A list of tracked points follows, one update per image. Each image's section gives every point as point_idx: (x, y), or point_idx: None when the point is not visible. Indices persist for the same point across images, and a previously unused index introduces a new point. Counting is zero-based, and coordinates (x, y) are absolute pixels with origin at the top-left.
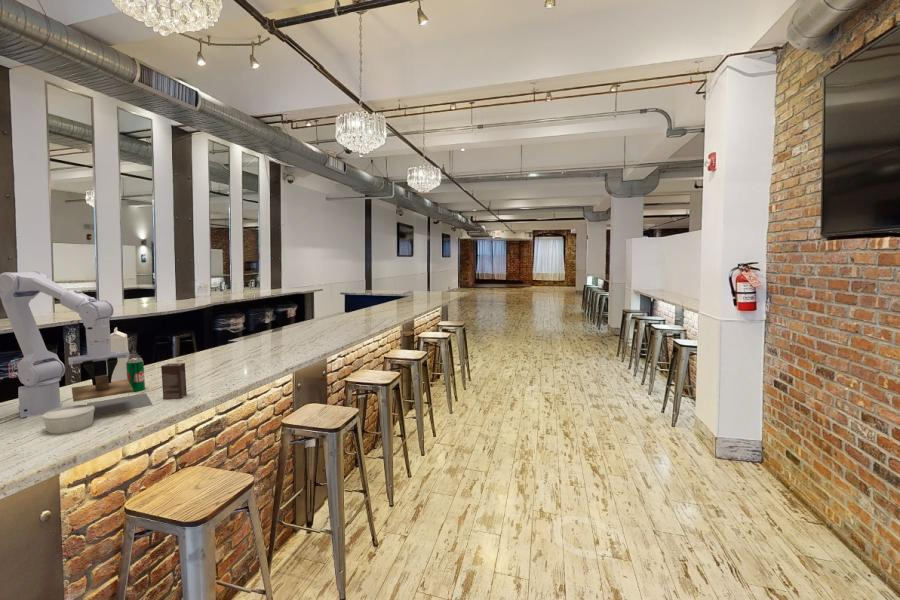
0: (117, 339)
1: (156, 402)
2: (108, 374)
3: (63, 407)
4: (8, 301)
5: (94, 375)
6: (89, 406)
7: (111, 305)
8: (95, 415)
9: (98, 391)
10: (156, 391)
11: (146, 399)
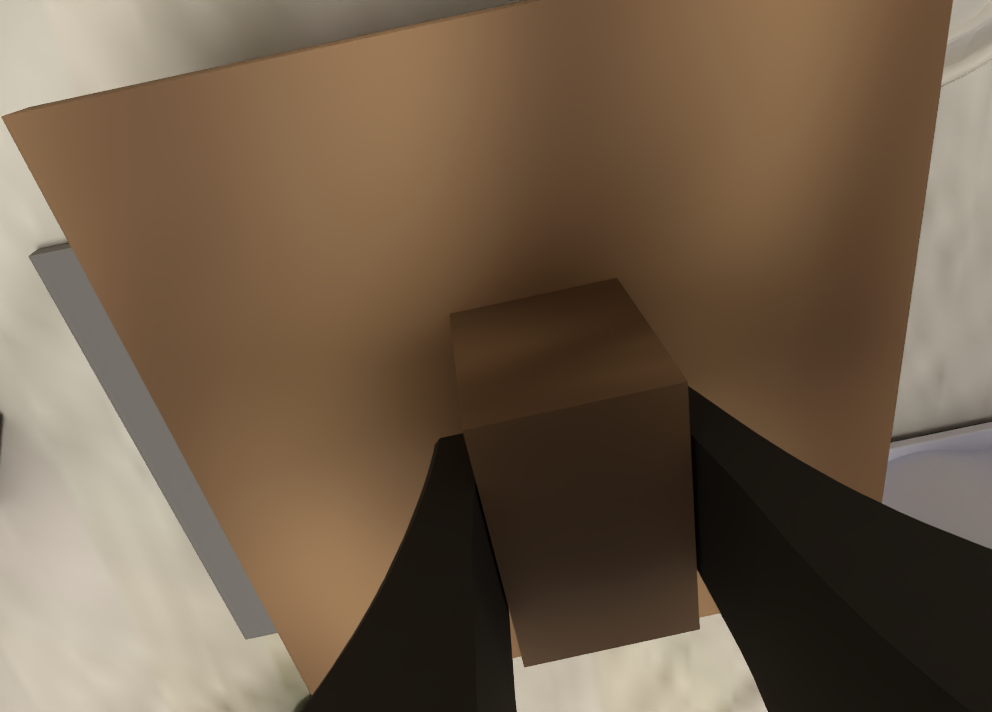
0: None
1: (59, 383)
2: (471, 536)
3: (949, 71)
4: None
5: (747, 493)
6: None
7: None
8: None
9: (591, 265)
10: (186, 677)
11: (180, 476)
